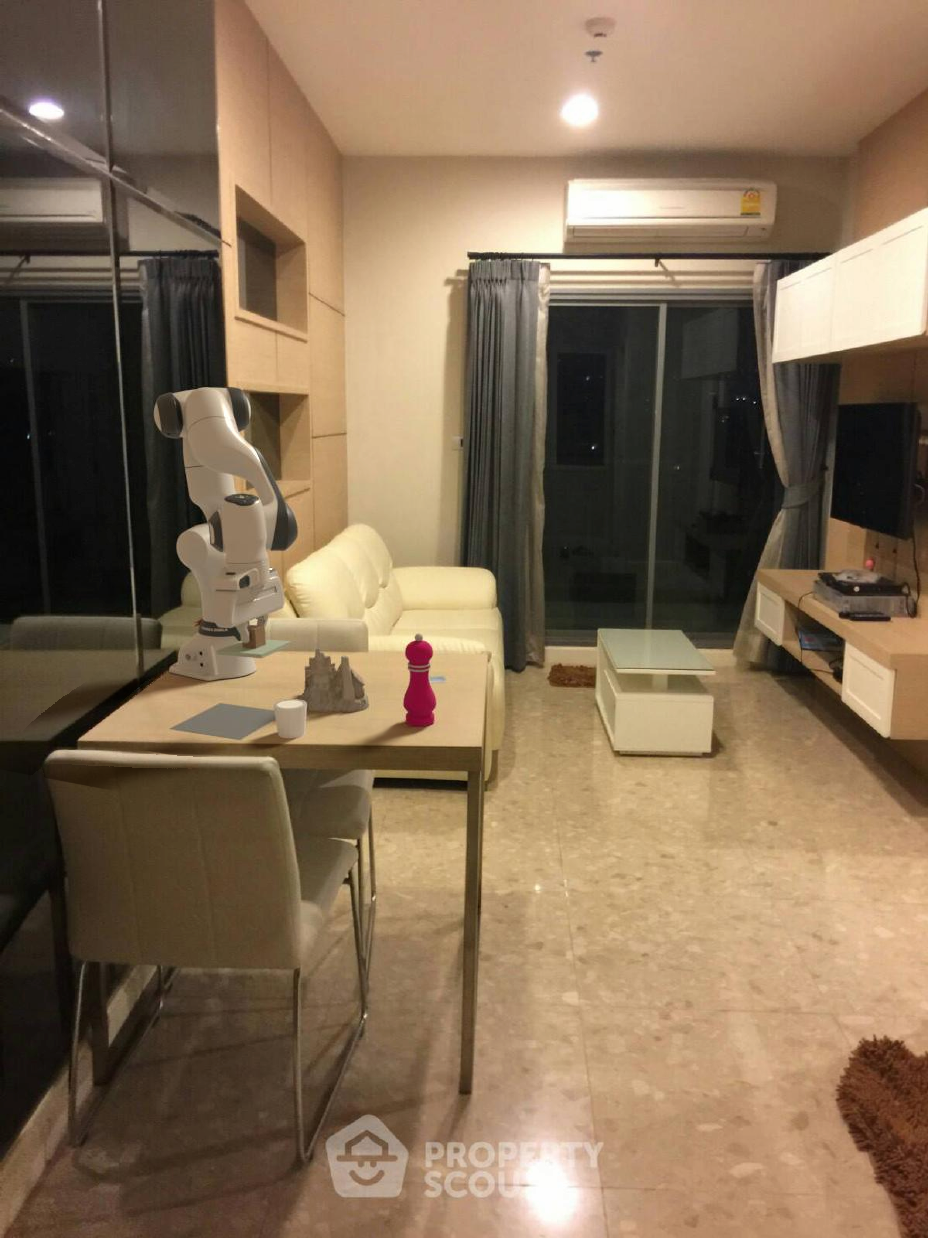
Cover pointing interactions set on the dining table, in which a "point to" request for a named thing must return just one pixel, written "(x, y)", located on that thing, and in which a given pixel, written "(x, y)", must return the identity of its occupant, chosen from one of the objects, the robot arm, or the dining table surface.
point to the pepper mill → (419, 684)
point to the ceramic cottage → (333, 686)
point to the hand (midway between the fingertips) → (253, 639)
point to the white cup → (291, 718)
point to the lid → (254, 645)
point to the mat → (227, 721)
